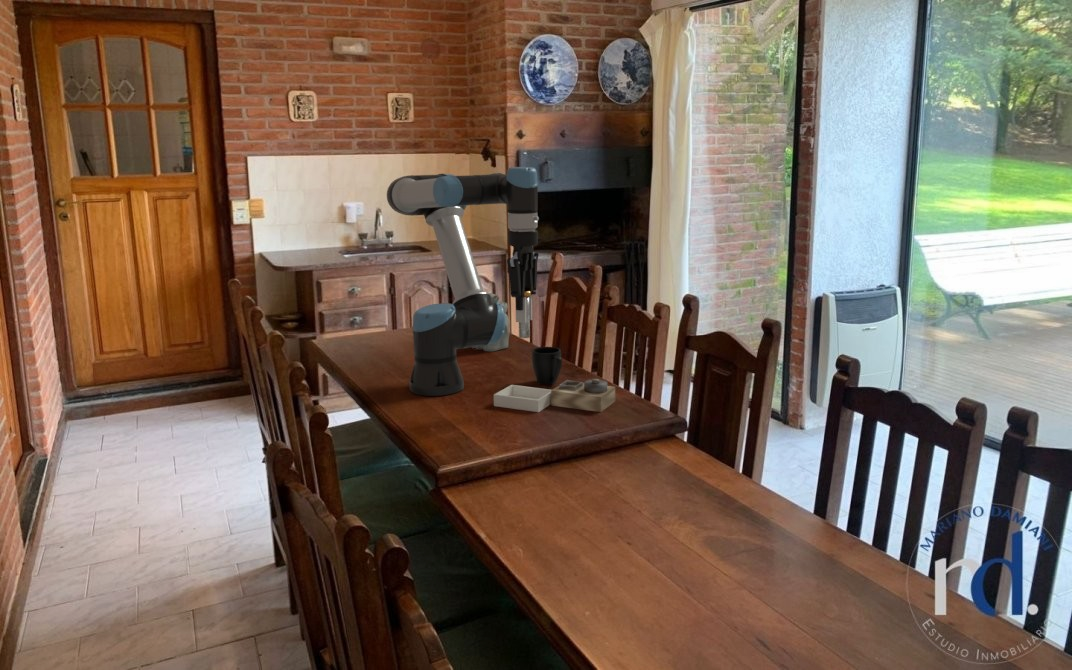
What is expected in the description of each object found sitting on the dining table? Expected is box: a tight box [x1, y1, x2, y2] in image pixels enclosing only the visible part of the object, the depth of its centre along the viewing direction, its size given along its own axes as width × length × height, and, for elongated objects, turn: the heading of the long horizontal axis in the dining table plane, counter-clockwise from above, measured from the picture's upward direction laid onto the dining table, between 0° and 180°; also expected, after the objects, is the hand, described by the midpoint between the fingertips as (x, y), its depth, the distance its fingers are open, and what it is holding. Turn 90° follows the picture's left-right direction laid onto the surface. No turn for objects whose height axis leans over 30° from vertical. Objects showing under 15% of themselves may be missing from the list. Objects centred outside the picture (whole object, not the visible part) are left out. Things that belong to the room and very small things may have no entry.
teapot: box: [471, 292, 510, 352], centre depth 286 cm, size 16×15×19 cm
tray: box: [493, 384, 552, 413], centre depth 226 cm, size 13×10×3 cm
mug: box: [531, 346, 563, 386], centre depth 243 cm, size 8×12×10 cm
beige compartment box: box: [550, 378, 616, 413], centre depth 225 cm, size 14×10×7 cm
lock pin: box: [518, 290, 531, 339], centre depth 221 cm, size 4×4×12 cm
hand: (524, 320), depth 222 cm, fingers closed on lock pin, 3 cm apart
